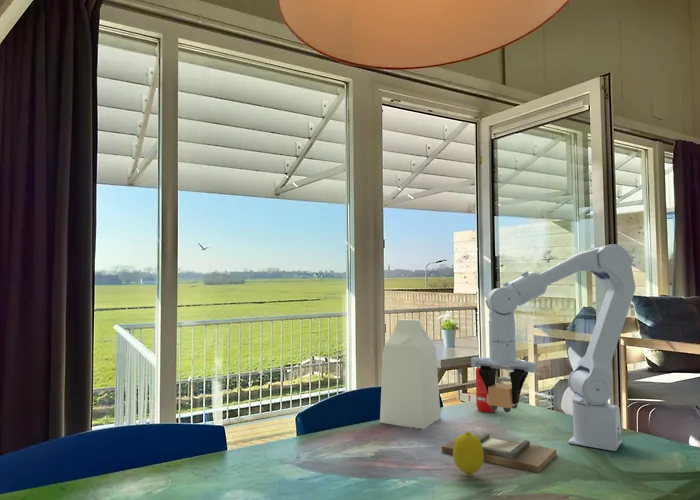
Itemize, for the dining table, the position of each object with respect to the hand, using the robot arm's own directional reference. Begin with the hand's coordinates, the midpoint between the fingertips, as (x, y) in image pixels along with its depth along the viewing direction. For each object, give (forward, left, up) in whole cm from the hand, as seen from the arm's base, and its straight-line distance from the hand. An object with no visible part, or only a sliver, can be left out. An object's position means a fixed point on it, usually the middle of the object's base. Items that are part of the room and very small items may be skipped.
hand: (503, 401), depth 115 cm
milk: (+26, -3, -9) cm, 28 cm away
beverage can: (+14, -24, -9) cm, 29 cm away
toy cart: (0, 0, -2) cm, 2 cm away
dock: (-2, +9, -9) cm, 13 cm away
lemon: (-2, +24, -9) cm, 26 cm away
